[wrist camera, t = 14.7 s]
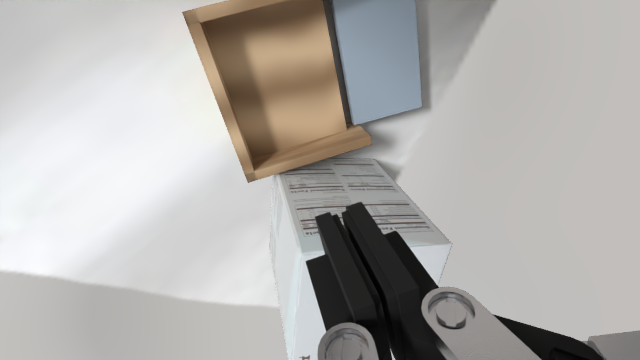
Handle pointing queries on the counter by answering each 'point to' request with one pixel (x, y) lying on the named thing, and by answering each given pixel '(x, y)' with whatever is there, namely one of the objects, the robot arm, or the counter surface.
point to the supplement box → (333, 196)
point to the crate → (274, 82)
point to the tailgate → (378, 56)
